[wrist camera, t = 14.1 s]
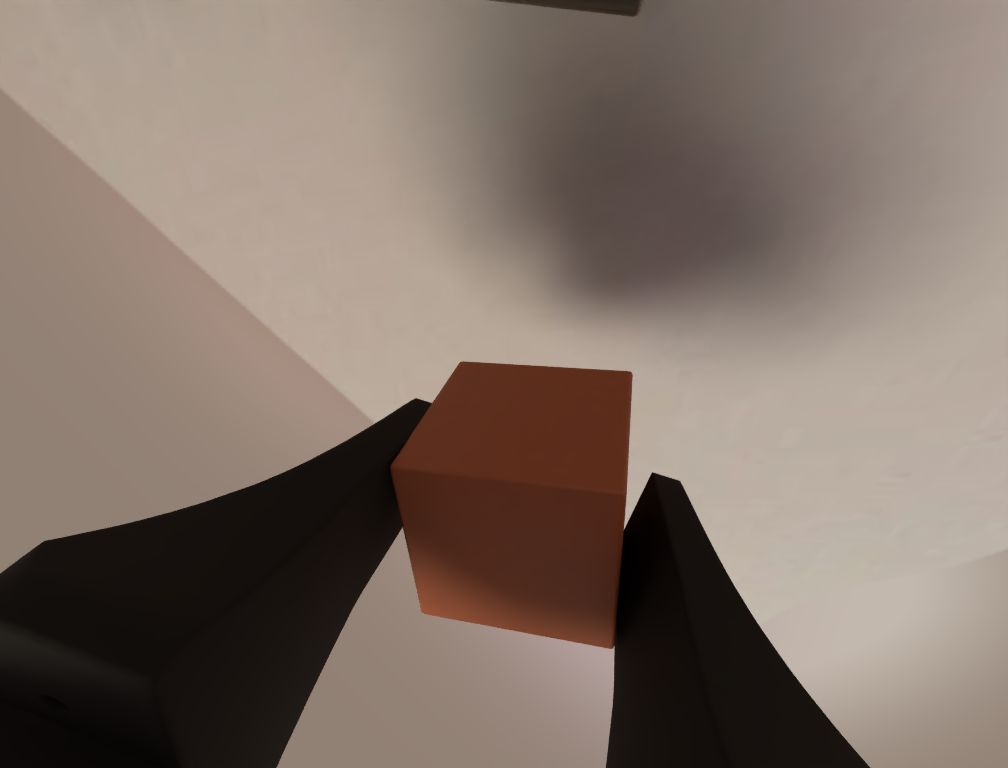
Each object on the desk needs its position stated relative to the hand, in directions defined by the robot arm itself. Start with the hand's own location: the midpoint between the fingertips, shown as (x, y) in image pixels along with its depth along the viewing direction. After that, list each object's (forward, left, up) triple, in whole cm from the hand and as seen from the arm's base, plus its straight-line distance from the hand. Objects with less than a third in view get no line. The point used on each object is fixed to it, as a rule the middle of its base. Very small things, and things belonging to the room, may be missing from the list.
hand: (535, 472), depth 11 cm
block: (0, 0, -1) cm, 1 cm away
